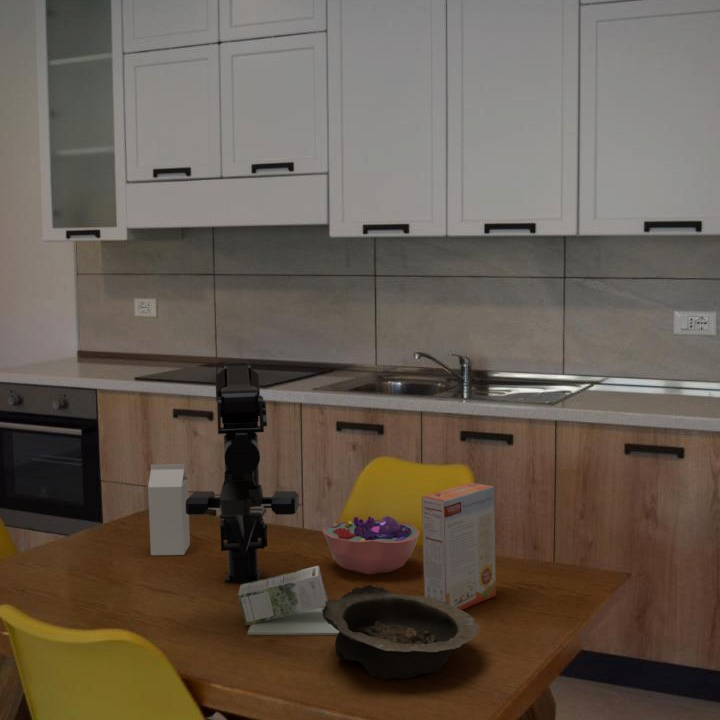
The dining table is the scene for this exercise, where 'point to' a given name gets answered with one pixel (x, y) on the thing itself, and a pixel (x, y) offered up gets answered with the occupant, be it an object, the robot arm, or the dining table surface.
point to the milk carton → (168, 510)
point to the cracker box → (459, 545)
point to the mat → (295, 625)
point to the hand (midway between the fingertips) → (244, 551)
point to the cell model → (371, 544)
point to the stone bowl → (397, 631)
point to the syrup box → (282, 595)
